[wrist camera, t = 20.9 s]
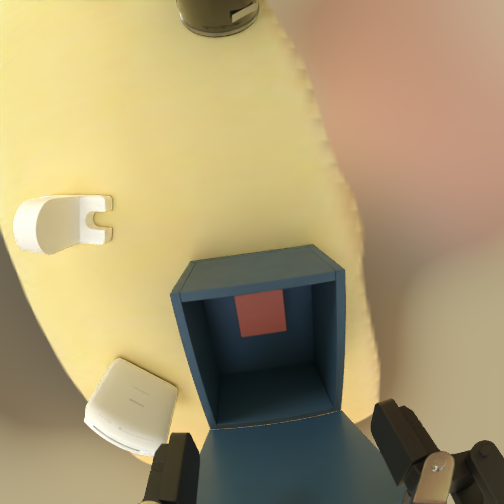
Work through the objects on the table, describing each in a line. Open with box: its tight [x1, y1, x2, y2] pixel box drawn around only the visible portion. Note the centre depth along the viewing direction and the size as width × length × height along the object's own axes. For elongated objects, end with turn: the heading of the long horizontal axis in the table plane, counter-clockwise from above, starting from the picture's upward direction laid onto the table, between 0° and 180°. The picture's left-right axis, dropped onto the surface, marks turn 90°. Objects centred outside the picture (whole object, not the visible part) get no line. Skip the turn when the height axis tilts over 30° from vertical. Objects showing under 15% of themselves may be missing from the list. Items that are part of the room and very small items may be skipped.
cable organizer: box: [13, 195, 113, 255], centre depth 23 cm, size 5×10×10 cm, turn 85°
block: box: [234, 289, 287, 337], centre depth 28 cm, size 4×4×4 cm
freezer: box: [170, 245, 346, 429], centre depth 27 cm, size 16×14×10 cm
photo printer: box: [84, 358, 178, 457], centre depth 27 cm, size 10×4×12 cm, turn 59°
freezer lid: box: [196, 410, 407, 504], centre depth 15 cm, size 16×14×5 cm
